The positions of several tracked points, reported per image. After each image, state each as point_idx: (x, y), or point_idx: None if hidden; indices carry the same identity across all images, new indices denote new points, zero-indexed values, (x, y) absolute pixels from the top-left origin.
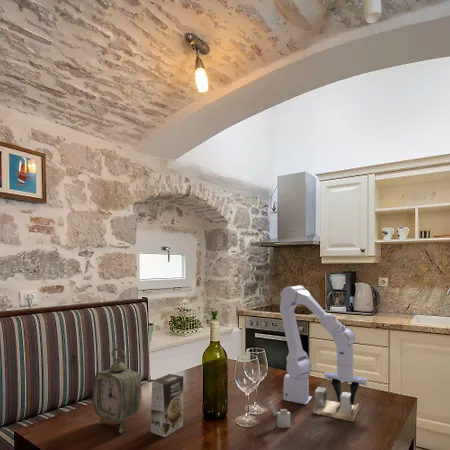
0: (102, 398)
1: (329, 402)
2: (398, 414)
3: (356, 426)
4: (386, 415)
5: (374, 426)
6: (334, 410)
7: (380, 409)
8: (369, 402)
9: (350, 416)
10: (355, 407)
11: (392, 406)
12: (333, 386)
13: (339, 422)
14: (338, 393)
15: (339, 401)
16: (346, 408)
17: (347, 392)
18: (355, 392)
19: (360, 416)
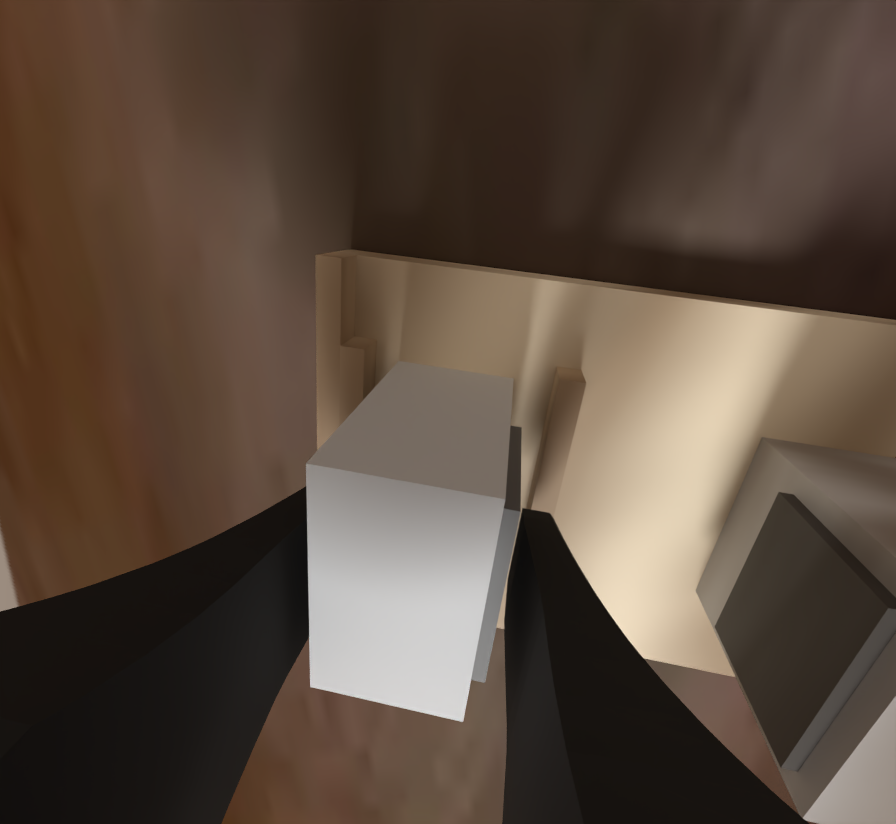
0: None
1: (657, 617)
2: (46, 561)
3: (299, 109)
4: (112, 518)
5: (125, 215)
6: (599, 411)
7: None
8: (289, 713)
9: (378, 290)
10: None
11: None
12: (755, 784)
13: (524, 142)
14: (551, 602)
15: (530, 512)
16: (421, 388)
17: (382, 699)
18: (99, 586)
19: (306, 426)
